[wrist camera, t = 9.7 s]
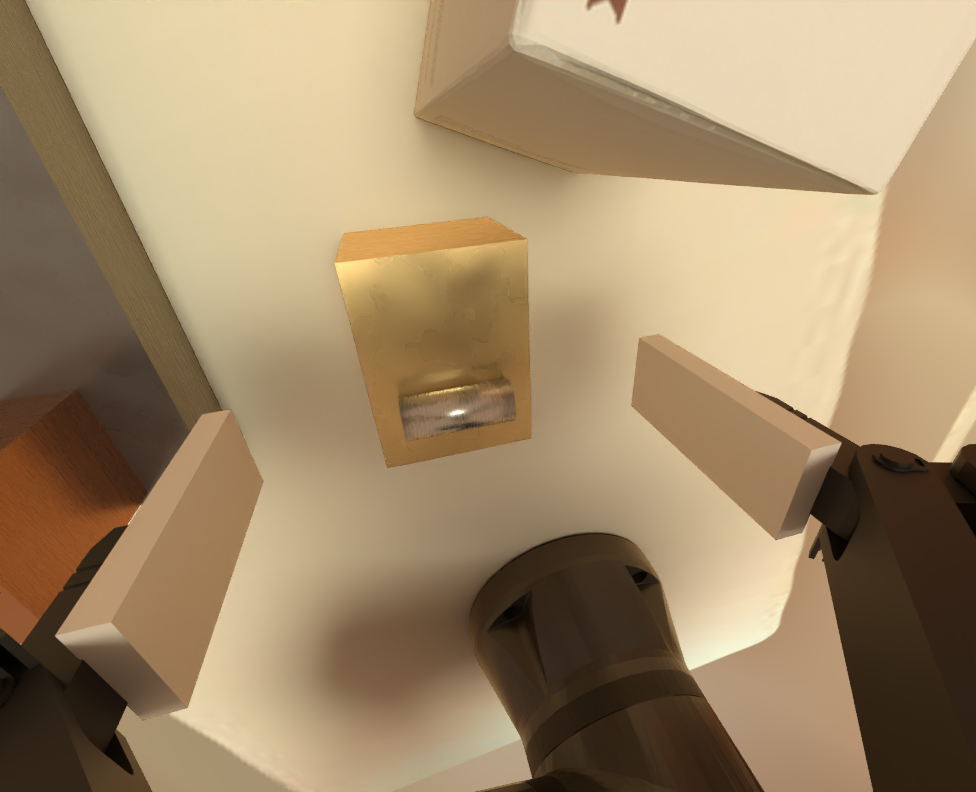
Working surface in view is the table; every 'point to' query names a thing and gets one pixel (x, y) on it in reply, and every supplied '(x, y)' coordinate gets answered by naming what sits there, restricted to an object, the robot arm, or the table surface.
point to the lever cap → (441, 334)
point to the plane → (73, 341)
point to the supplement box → (697, 84)
